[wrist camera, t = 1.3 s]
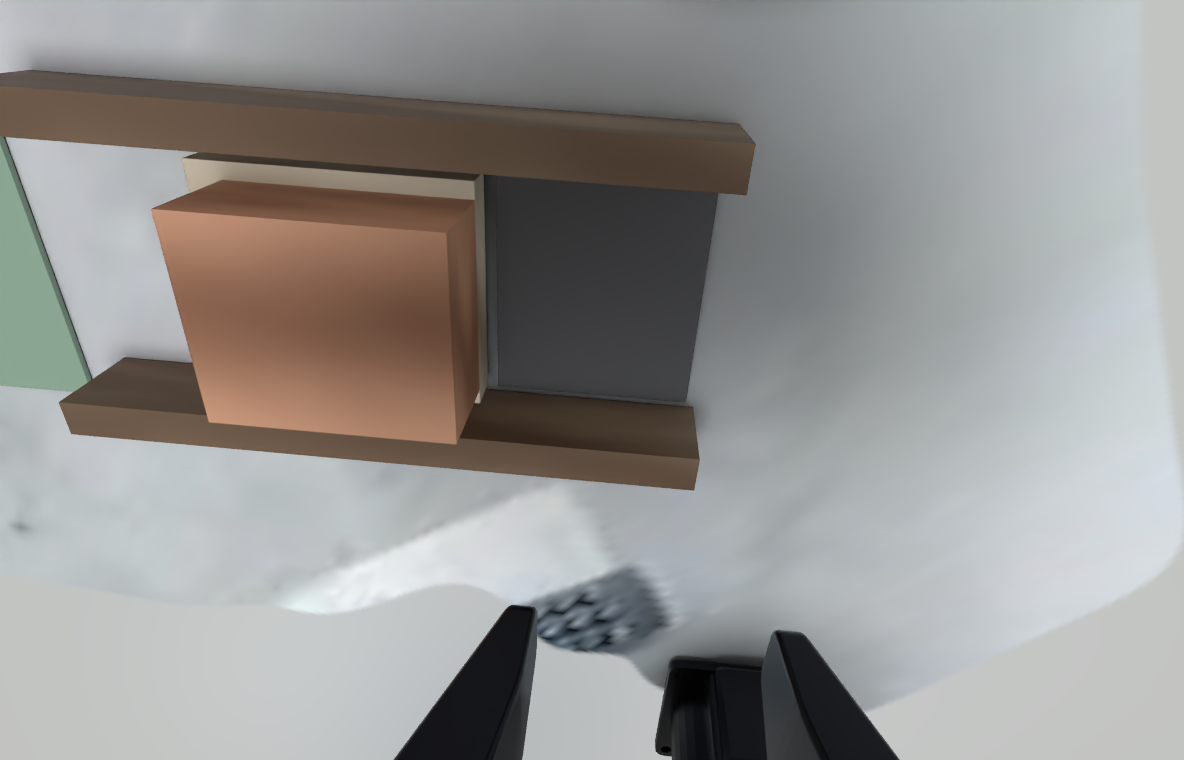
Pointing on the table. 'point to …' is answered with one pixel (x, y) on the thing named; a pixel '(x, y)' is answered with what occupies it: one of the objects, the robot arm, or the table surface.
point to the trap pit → (599, 286)
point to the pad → (31, 301)
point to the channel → (401, 140)
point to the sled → (331, 294)
